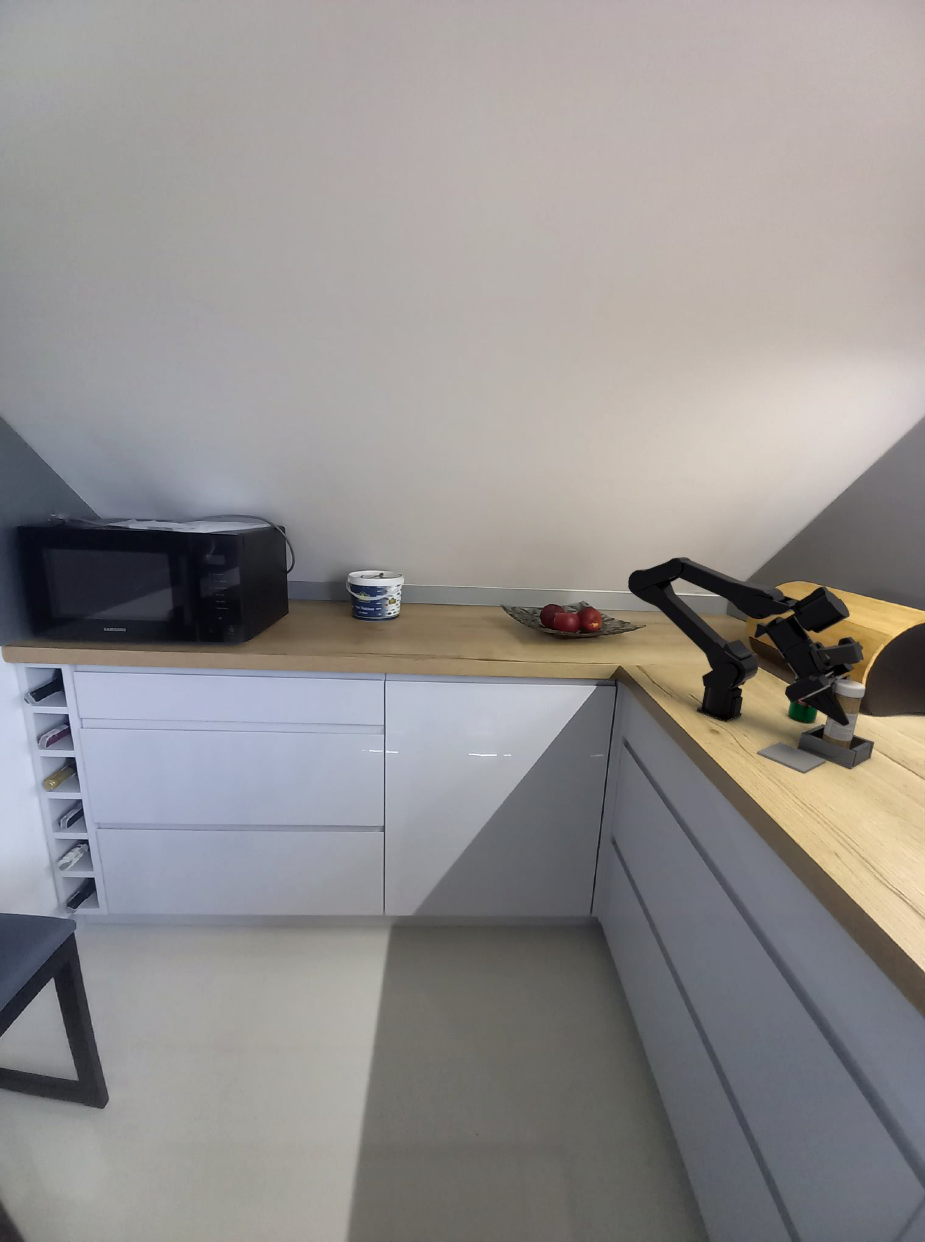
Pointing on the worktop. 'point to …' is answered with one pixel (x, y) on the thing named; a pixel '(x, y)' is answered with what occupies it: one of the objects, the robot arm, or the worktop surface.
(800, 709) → the soda can
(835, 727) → the sprinkles bottle
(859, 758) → the grey open box
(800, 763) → the rubber pad
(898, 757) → the worktop surface
